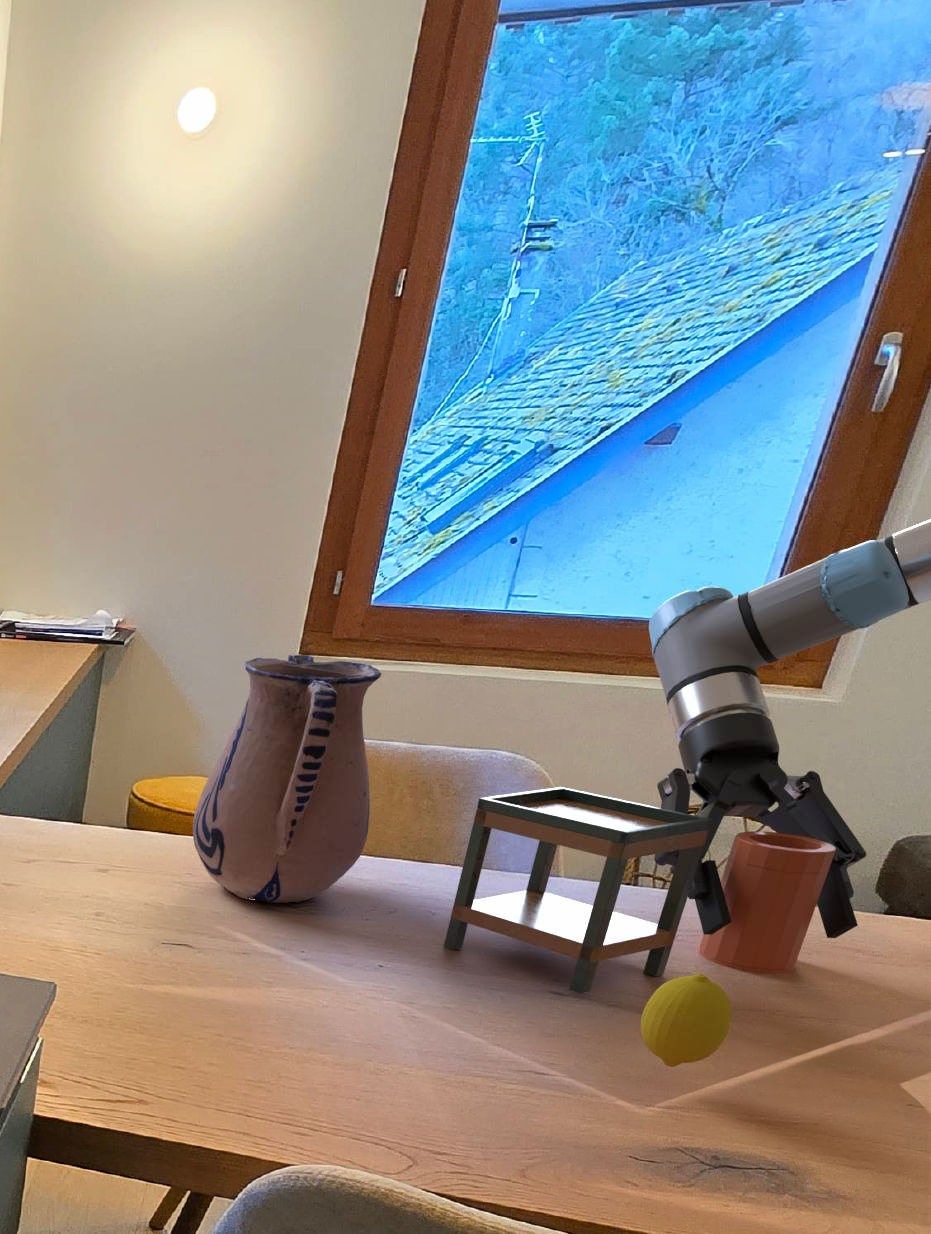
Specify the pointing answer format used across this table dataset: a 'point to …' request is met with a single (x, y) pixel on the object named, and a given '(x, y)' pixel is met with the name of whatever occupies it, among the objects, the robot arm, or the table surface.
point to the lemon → (686, 1020)
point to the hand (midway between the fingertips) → (779, 930)
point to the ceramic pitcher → (289, 783)
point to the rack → (598, 928)
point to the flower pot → (768, 900)
